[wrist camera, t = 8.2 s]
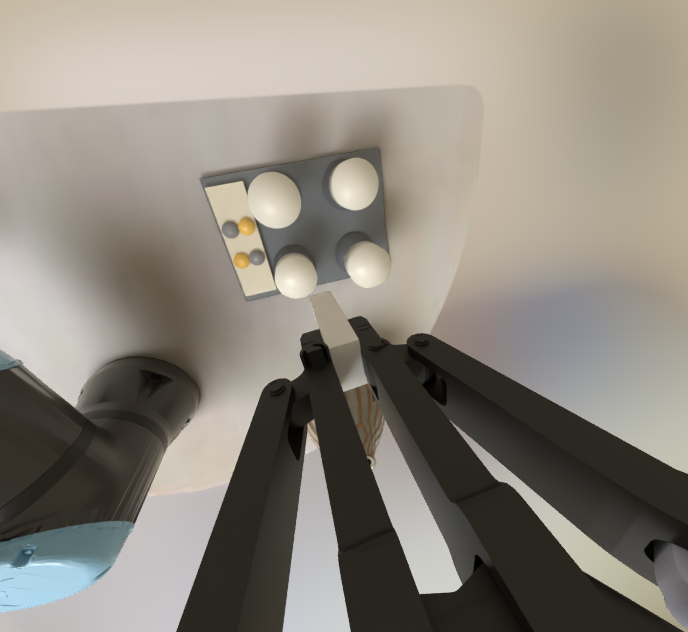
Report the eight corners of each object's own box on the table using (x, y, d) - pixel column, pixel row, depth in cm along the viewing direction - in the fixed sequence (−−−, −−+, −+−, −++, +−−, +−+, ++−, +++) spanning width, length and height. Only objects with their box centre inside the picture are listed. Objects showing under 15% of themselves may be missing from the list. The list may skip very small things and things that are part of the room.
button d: (330, 210, 34) (337, 214, 29) (322, 165, 31) (328, 162, 27) (368, 203, 34) (380, 205, 30) (363, 158, 32) (376, 153, 27)
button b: (260, 226, 31) (257, 233, 27) (246, 178, 28) (239, 176, 24) (303, 218, 32) (306, 223, 27) (292, 170, 29) (294, 167, 25)
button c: (344, 279, 36) (353, 292, 32) (338, 242, 34) (346, 250, 29) (379, 271, 37) (392, 282, 32) (375, 234, 34) (389, 241, 30)
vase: (294, 356, 44) (300, 446, 29) (367, 343, 46) (410, 420, 31) (305, 410, 50) (315, 509, 35) (369, 397, 52) (405, 484, 37)
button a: (281, 289, 37) (281, 302, 33) (270, 253, 34) (269, 263, 30) (316, 281, 38) (321, 293, 33) (308, 245, 35) (312, 253, 31)
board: (247, 300, 38) (245, 304, 37) (201, 179, 30) (197, 178, 29) (387, 267, 40) (391, 270, 39) (377, 147, 33) (381, 146, 31)
